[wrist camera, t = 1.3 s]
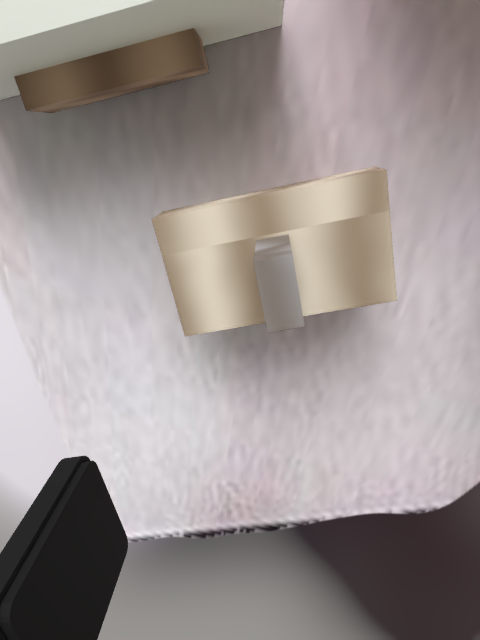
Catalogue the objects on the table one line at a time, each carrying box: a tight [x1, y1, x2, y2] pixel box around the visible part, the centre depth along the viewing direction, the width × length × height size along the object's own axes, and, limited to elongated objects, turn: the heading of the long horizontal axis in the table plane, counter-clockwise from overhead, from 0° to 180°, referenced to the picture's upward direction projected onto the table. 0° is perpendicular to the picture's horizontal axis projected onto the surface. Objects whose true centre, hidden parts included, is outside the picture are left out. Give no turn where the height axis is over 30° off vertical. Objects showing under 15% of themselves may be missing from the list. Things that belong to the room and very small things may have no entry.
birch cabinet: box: [152, 167, 397, 336], centre depth 29 cm, size 14×8×15 cm, turn 102°
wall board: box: [0, 0, 284, 100], centre depth 26 cm, size 23×2×12 cm, turn 102°
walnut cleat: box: [14, 28, 209, 113], centre depth 29 cm, size 12×2×4 cm, turn 102°
